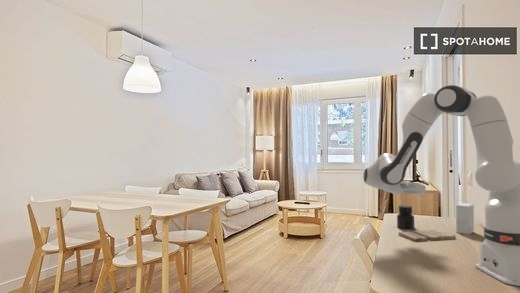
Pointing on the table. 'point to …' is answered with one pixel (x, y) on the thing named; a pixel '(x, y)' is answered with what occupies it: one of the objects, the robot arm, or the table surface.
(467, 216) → the skincare box
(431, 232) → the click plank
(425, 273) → the table surface
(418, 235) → the laid plank
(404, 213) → the ink bottle
